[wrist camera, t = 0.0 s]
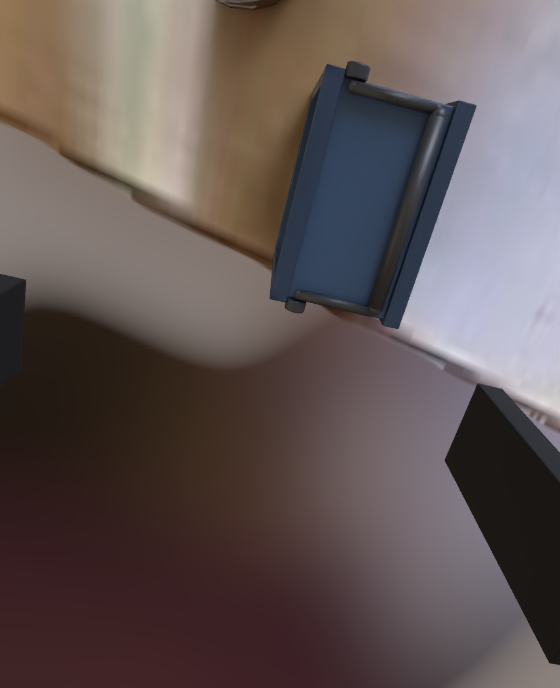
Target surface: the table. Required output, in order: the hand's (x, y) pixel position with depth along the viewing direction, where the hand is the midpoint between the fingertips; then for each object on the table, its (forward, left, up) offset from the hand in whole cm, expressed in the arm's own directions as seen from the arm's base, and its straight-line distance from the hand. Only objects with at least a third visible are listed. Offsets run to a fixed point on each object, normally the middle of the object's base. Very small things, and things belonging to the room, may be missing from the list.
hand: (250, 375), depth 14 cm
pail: (-4, +5, -28) cm, 29 cm away
